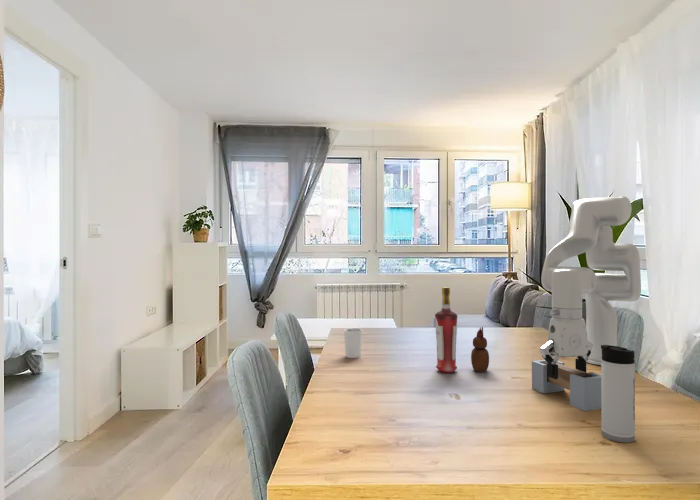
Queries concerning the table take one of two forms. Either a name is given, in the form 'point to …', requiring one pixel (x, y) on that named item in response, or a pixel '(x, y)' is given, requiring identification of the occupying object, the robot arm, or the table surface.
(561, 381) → the rail
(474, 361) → the wooden figurine
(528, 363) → the table surface
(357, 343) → the drinking glass
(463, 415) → the table surface
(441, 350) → the liquor
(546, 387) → the post
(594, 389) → the post
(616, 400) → the travel mug
